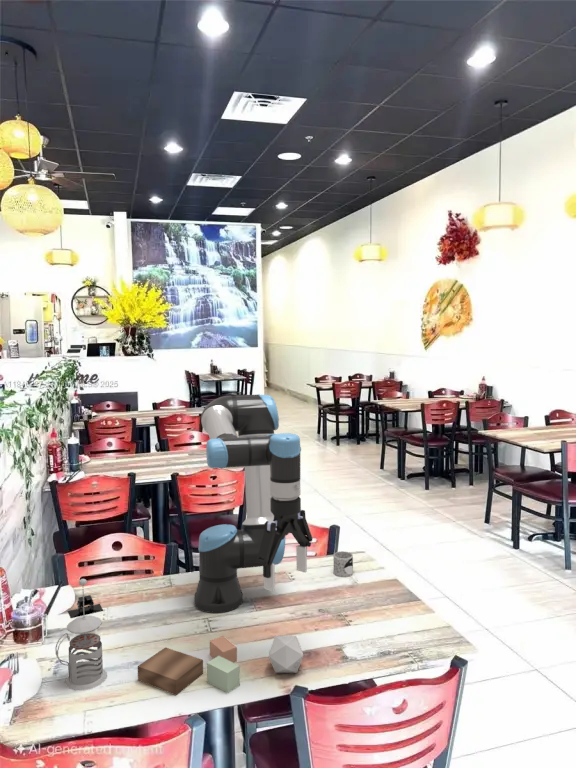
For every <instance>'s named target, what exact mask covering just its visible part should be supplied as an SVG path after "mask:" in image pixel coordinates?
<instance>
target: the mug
mask: <svg viewBox="0 0 576 768" xmlns="http://www.w3.org/2000/svg"><path fill="white" fill-rule="evenodd" d="M353 561H354V555H353V553H352V552H348V551H336V552H333V575H334V576H336V577H338V578H349V577H353V575H354V569H353V568H354V566H353V565H354V563H353Z"/></svg>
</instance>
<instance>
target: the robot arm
mask: <svg viewBox="0 0 576 768" xmlns="http://www.w3.org/2000/svg"><path fill="white" fill-rule="evenodd" d="M200 415H201V416H200V422H201V426H202V428H203V430H204V431H205V433H207V434H208V437H209V439H208V440H207V441H206V446H205V447H206V448H205V449H206V452H205V454H206V464H207V466H208V467H209V468H211V469H221V470H222V469H227V468H228V469H229V468H230V469H231V468H240V467H241V468H242V467H244V483H245V502H246V504H245V505H246V506H245V507H246V518H245V520H244V521H243V522H242V524H241V526H242V529H237V527H236V526H235V525H233V524H228V523H225V524H224V523H223V524H222V523H221V524H218V525H214V526H210V527H208V528H205V530H203V531H202V532H201V533H200V534H199V537H198V549H197V550H198V555H199V556H198V557H199V561H198V562H199V566H198V568H199V569H198V570H199V580H198V583H197V586H196V591H195V593H194V597H193V601H194V602H193V603H194V604H193V605H194V607H195V608H196V609H198V610H200V611H203V612H206V613H217V614H218V613H226V612H230V611H233V610H235V609H237V608H239V607H240V606H241V605H242V604H243V601H244V593H243V590H242V587H241V584H240V581H239V578H238V569H249V568H259V567H260V568H261V567H262V572H263V573H262V576H263V589H264V590H267V591H271V592H274V591H275V590H276V582H275V581H276V576H275V575H276V574H275V573H276V572H275V567H276V565H279V564H280V563H281V562H282V561H283V559H284V555H285V550H286V536H288V535H289V534H291V535H292V536H293V537H294V539H295V541H296V542H297V543H298V544H297V545H296V552H295V554H296V558H295V559H296V560H295V561H296V571H298V572H302V573H307V572H308V565H307V564H308V563H307V562H308V561H307V560H308V559H307V557H308V547H311V545H312V542H313V536H312V533H311V530H310V527H309V524H308V521H307V518H306V511H305V510H304V509H302V505H301V500H302V499H301V497H300V496H301V452H302V447H301V438H300V436H299V435H298V434H295V433H289V432H283V433H282V432H281V433H275V431H276V430H278V429H279V427H280V425H279V424H280V419H279V411H278V407H277V403H276V402H275V399H274V398H273V396H272V395H269V394H260V393H258V394H244V395H243V394H242V395H241V394H240V395H239V394H238V395H223V396H220V397H218V398H215V399H213V400H212V401H210V402H209V403H207V405H206V406H205V407H204V408H203V410H202V411H201V414H200Z"/></svg>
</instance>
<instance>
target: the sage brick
mask: <svg viewBox="0 0 576 768" xmlns="http://www.w3.org/2000/svg"><path fill="white" fill-rule="evenodd" d="M240 674H241V672H240V665H239V664H237V663H236V662H234V663H233V662H231V661H229V660H227V659H225V658H223V657H220V656H217V657H216V658H213V659H211V660H209V661H207V662H206V683H208V684H210V685H212V686H214V687H216V688H217V689H219V690H221V691H223V692H225V693H227V694H229V693H230V692H232V691H233V690H235V689H236V688H238V687H240V685H241V684H240V678H241V677H240Z"/></svg>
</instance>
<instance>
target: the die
mask: <svg viewBox="0 0 576 768" xmlns="http://www.w3.org/2000/svg"><path fill="white" fill-rule="evenodd" d="M268 658H269V660H270V664H271V665H272V667H273V670H274V673H275V674H292V673H293V674H295V673H298V671H299V668H300V665H301V663H302V660H303V658H304V653H303V649H302V647H301V645H300V642H299V638H298V637H297V635H274V637H273V641H272V644H271V646H270V649H269V652H268Z"/></svg>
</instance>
